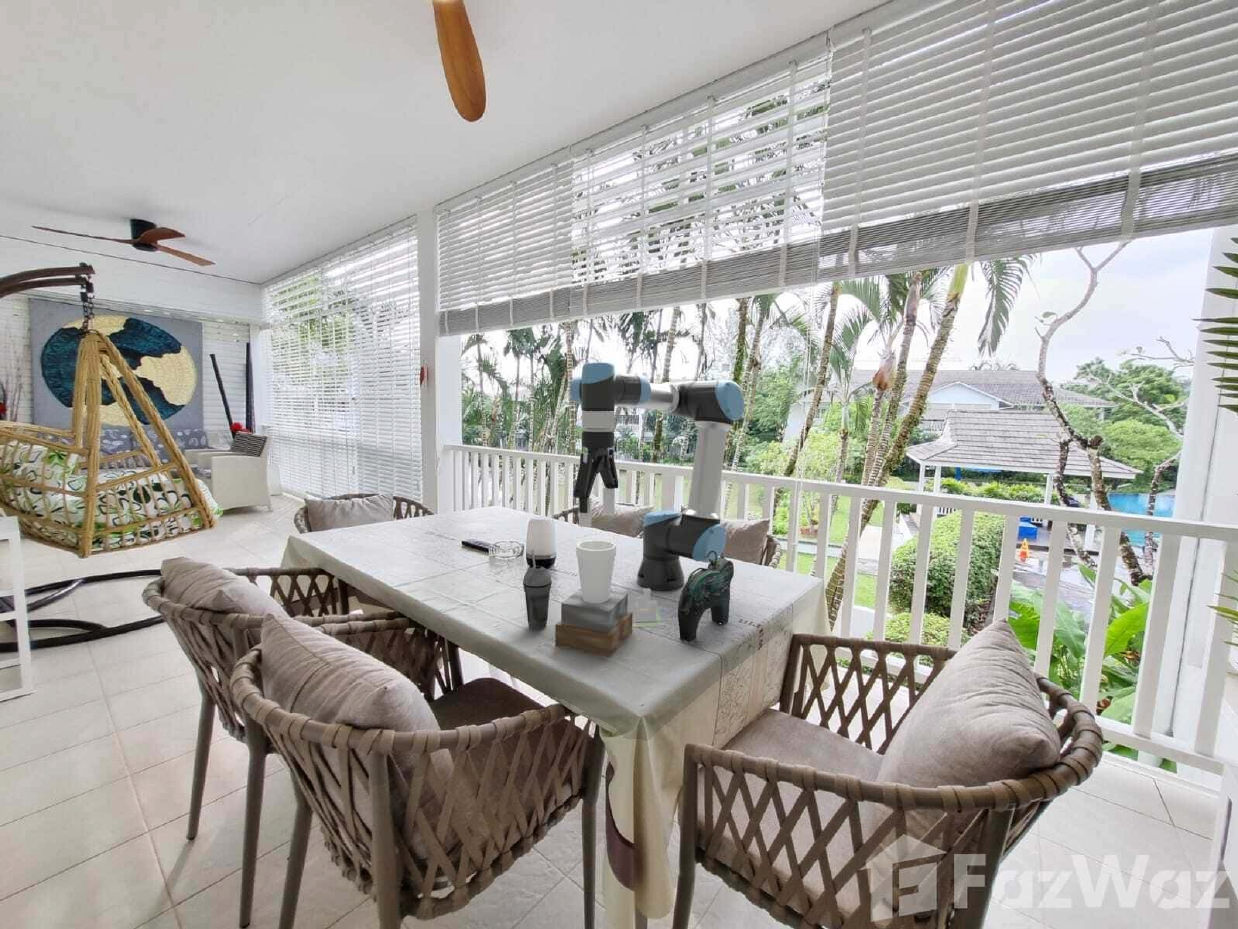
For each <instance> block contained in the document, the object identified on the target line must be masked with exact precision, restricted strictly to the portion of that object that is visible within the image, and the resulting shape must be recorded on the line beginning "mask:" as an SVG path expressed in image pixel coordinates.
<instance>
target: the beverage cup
mask: <svg viewBox="0 0 1238 929" xmlns="http://www.w3.org/2000/svg"><path fill="white" fill-rule="evenodd" d="M531 556H532V557H531V558H532V565H533V566H532V567H531V568H529V569H527V571H526V572H525V574H524V577H523V580H522V585H523V591H524V596H525V606H526V607H525V608H526V617H527V623H528V624H527V625H528V629H529V628H530V629H529V630H531V631H542V630H544V628H545V627H546V628H547V624H548V617H549V616H548V615H549V606H550V605H549V604H550V592H551V588H552V584H553V581H552V575H551V574H550V572H549V570H548V569H546V568H545V567H543V566H540V565H536V560H535V552H534V549H531ZM546 628H545V629H546Z"/></svg>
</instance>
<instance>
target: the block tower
mask: <svg viewBox="0 0 1238 929" xmlns="http://www.w3.org/2000/svg"><path fill="white" fill-rule="evenodd" d="M560 605H561V606H560V607H561V608H560V609H561V610H560V613H561V614H560V620H559V621H558V622H557V623H555V627H554V629H555V630H554V632H555V633H554V634H555V635H554V637H555V638H554V639H555V640H554V641H555V642H554V644H555V646H557V647H562V648H566V647H567V648H566V649H570V650H571V649H572V650H575V651H576V650H577V651H580V650H581V651H580V652H584V653H585V652H586V653H590V654H595V655H600V656H604V657H608V658H611V657H612V656H613V655H614V654H615V653H616V651H617V650H618V649H619V648H620V647H621V646H622V644H623V643H624V642H625V641H626V640H627V638H628V637H629V636H630V635H631V634H632V633H633V627H632V618H633V612H629V611H627V609H628V593H625V592H621V591H614V590H612V591H610V594H609V599H608V600H607V601H605V602H603V603H589V602H585V601H584V600H583V598H582V592H581V588H580V589H579V590H577V591H575V592H574V593H573V594H571V595H570V596H568V598H566V599H565V600H563V601H562V602H561V604H560Z"/></svg>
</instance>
